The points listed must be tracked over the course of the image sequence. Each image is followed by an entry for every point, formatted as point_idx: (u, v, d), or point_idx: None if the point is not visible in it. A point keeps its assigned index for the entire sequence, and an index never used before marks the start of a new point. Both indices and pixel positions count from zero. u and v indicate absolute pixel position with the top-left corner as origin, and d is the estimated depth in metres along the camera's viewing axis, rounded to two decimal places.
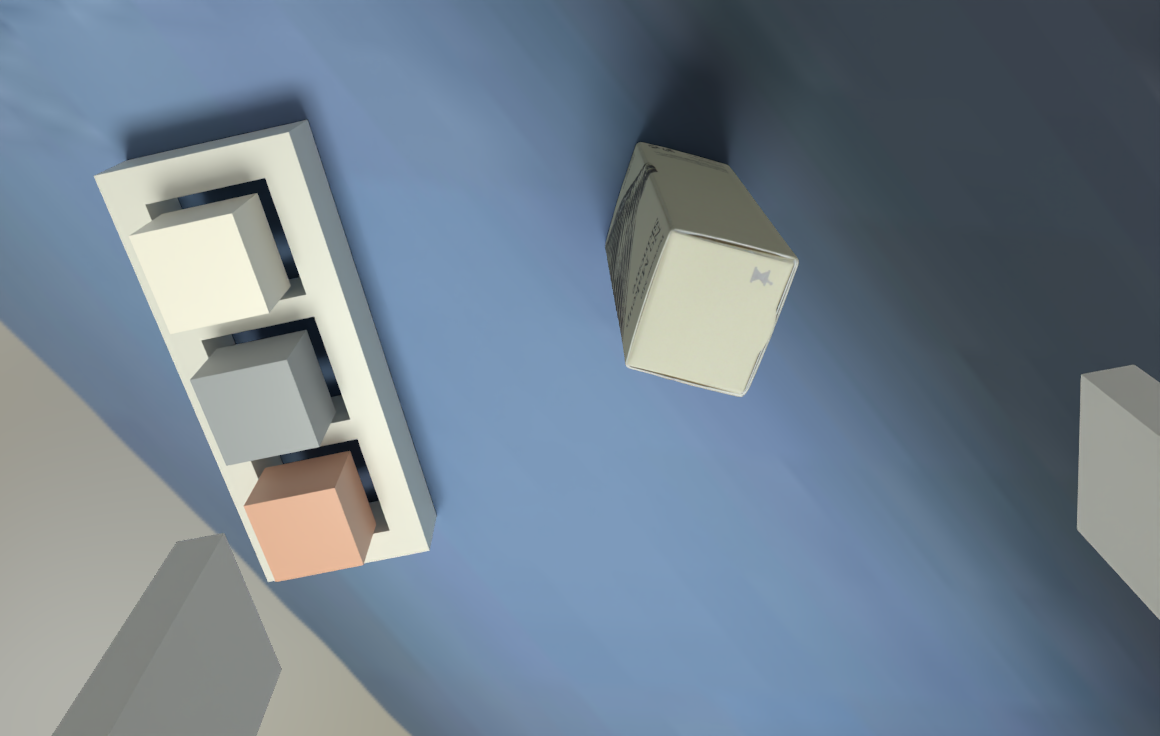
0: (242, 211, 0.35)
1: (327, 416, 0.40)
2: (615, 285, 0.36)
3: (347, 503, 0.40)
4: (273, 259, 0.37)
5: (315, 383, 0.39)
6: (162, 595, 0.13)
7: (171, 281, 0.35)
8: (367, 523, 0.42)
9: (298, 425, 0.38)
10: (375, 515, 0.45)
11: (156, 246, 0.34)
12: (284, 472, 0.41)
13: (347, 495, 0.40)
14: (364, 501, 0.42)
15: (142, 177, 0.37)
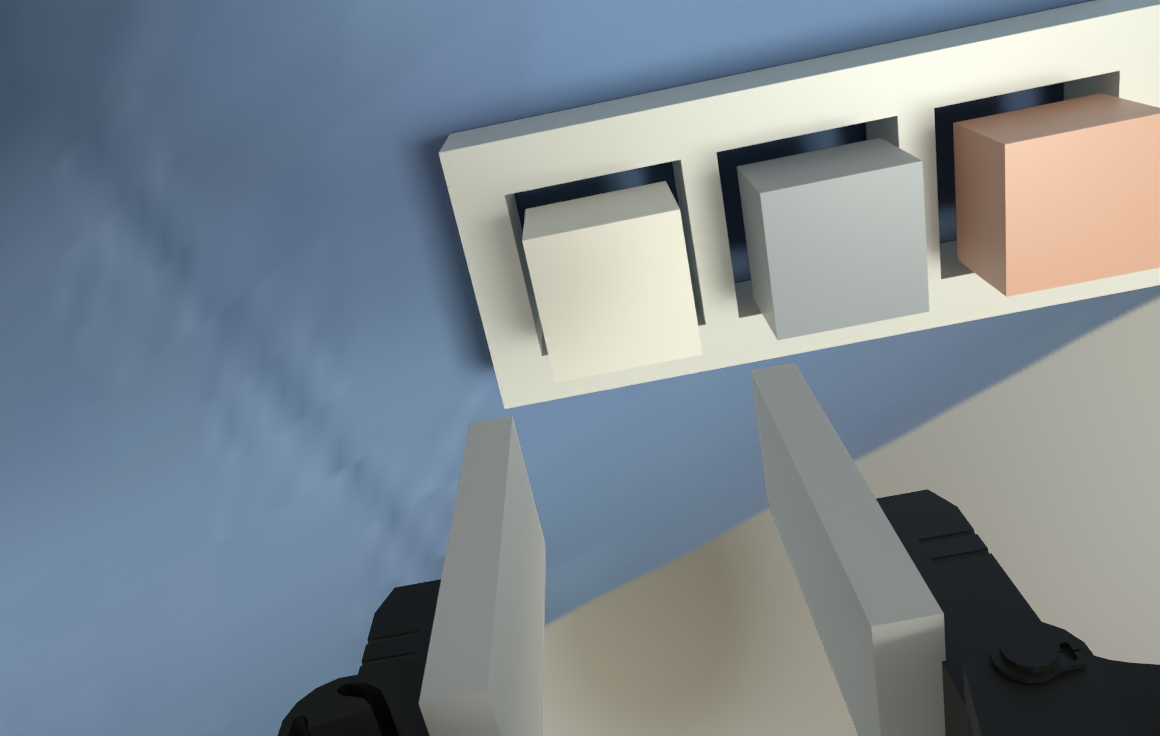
0: (531, 228, 0.24)
1: (880, 148, 0.25)
2: None
3: (1043, 128, 0.23)
4: (617, 198, 0.25)
5: (820, 159, 0.25)
6: (482, 460, 0.15)
7: (623, 340, 0.24)
8: (1093, 104, 0.24)
9: (877, 189, 0.23)
10: None
11: (570, 350, 0.24)
12: (967, 229, 0.26)
13: (1028, 128, 0.23)
14: (1052, 107, 0.25)
15: (505, 352, 0.28)
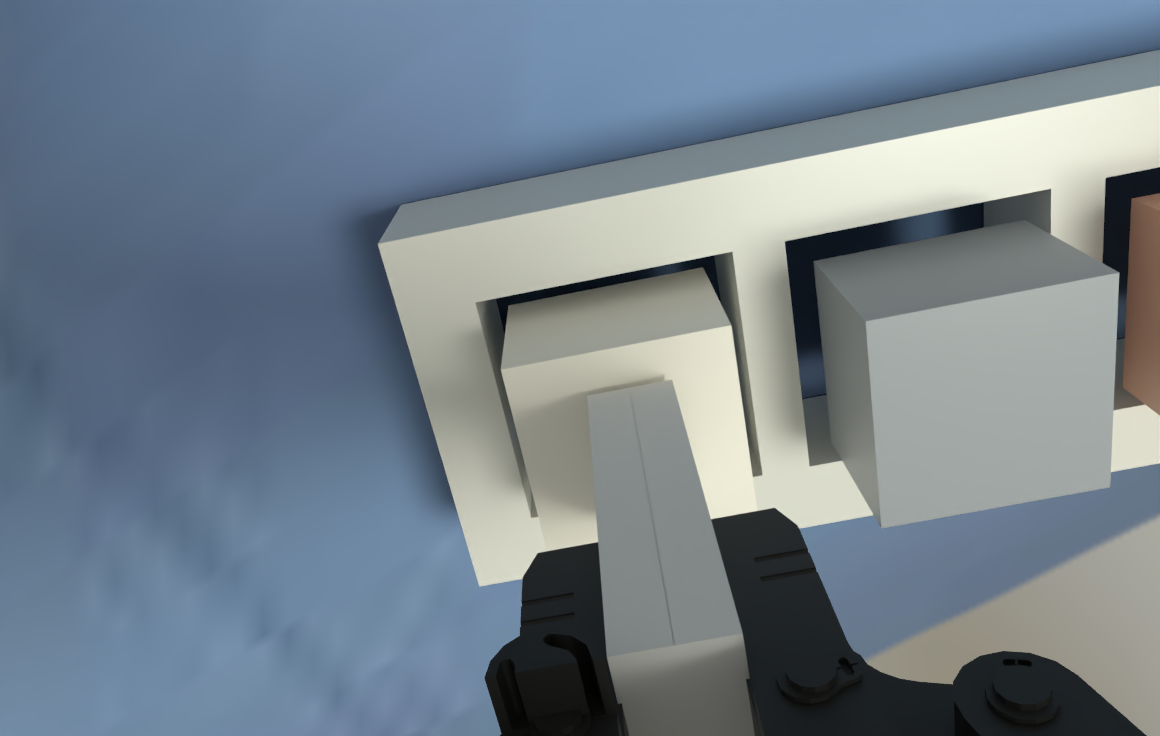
0: (514, 345, 0.17)
1: (1033, 241, 0.16)
2: None
3: None
4: (637, 295, 0.18)
5: (943, 257, 0.17)
6: (610, 429, 0.15)
7: None
8: None
9: (1046, 315, 0.15)
10: None
11: (571, 516, 0.17)
12: (1148, 352, 0.18)
13: None
14: None
15: (480, 514, 0.20)
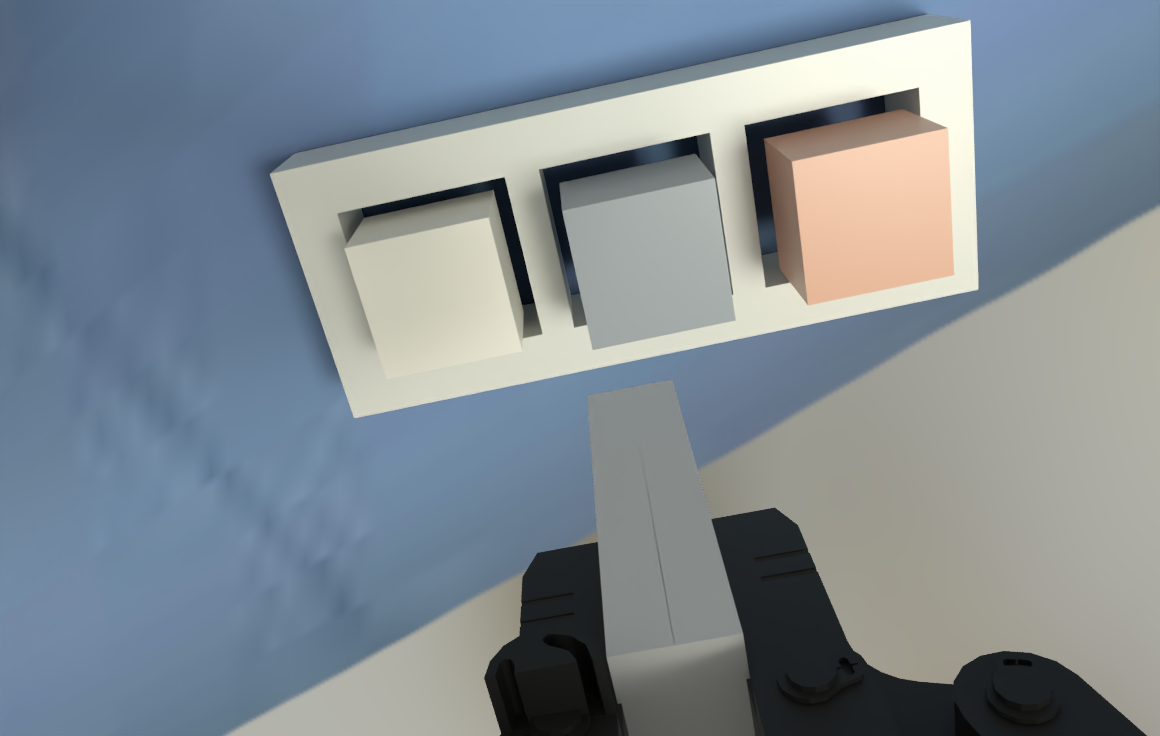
0: (357, 236, 0.26)
1: (688, 164, 0.26)
2: None
3: (833, 145, 0.24)
4: (444, 206, 0.27)
5: (632, 176, 0.26)
6: (609, 429, 0.15)
7: (446, 339, 0.26)
8: (889, 121, 0.25)
9: (674, 206, 0.24)
10: None
11: (398, 349, 0.26)
12: (782, 240, 0.27)
13: (821, 145, 0.25)
14: (853, 123, 0.26)
15: (350, 364, 0.29)
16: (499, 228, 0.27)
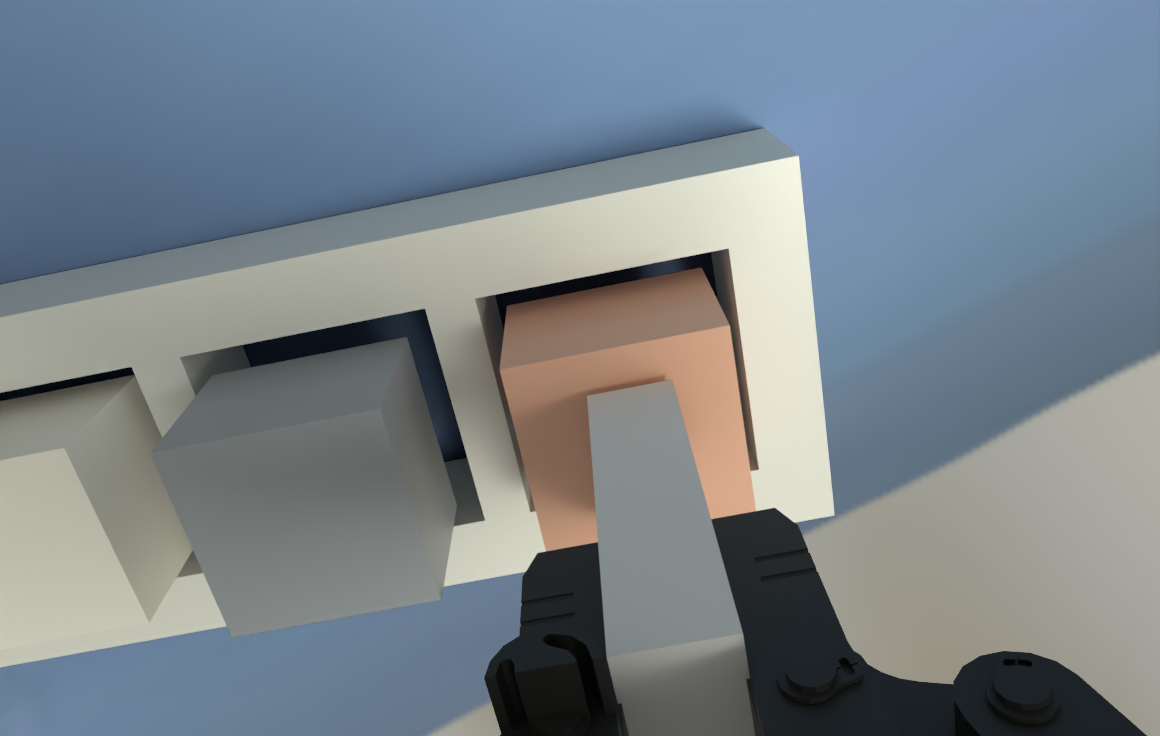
0: None
1: (378, 364, 0.17)
2: None
3: (572, 338, 0.17)
4: (51, 405, 0.19)
5: (298, 378, 0.17)
6: (610, 429, 0.15)
7: (34, 607, 0.18)
8: (671, 292, 0.18)
9: (323, 447, 0.16)
10: (721, 270, 0.20)
11: None
12: None
13: (557, 336, 0.17)
14: (627, 290, 0.18)
15: None
16: (134, 434, 0.19)
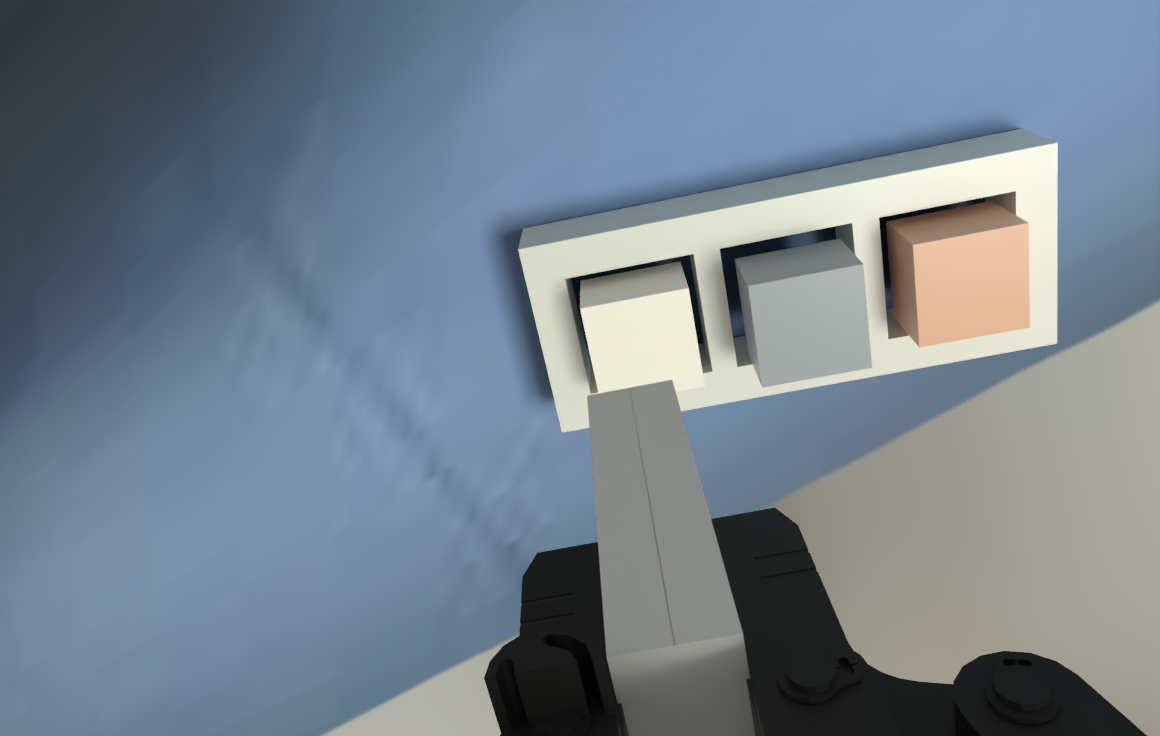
0: (585, 298, 0.35)
1: (837, 249, 0.34)
2: None
3: (942, 232, 0.33)
4: (645, 275, 0.36)
5: (794, 257, 0.34)
6: (610, 430, 0.15)
7: (648, 376, 0.35)
8: (983, 211, 0.34)
9: (831, 283, 0.32)
10: None
11: (612, 382, 0.35)
12: (897, 296, 0.36)
13: (932, 231, 0.34)
14: (955, 211, 0.35)
15: (563, 391, 0.38)
16: None
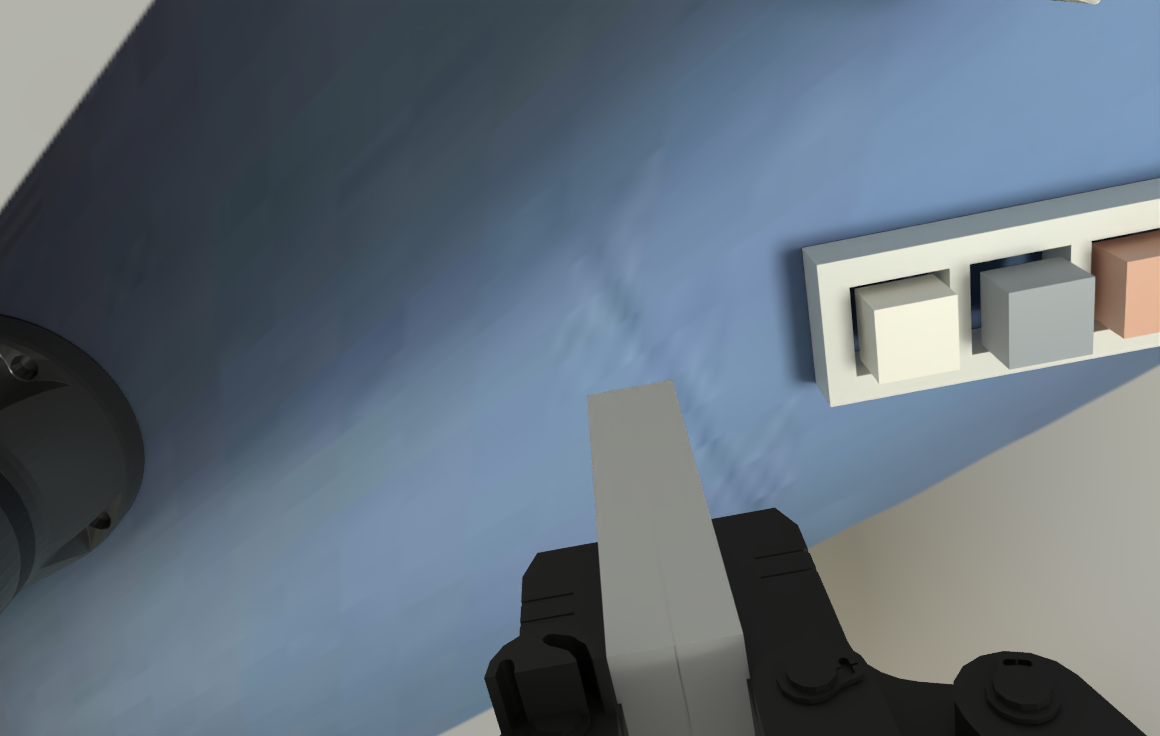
0: (871, 302, 0.45)
1: (1065, 264, 0.45)
2: None
3: (1146, 252, 0.44)
4: (910, 284, 0.47)
5: (1031, 270, 0.45)
6: (610, 430, 0.15)
7: (918, 361, 0.46)
8: None
9: (1070, 291, 0.43)
10: None
11: (890, 367, 0.46)
12: (1098, 300, 0.47)
13: (1137, 251, 0.45)
14: (1146, 236, 0.46)
15: (836, 374, 0.48)
16: None
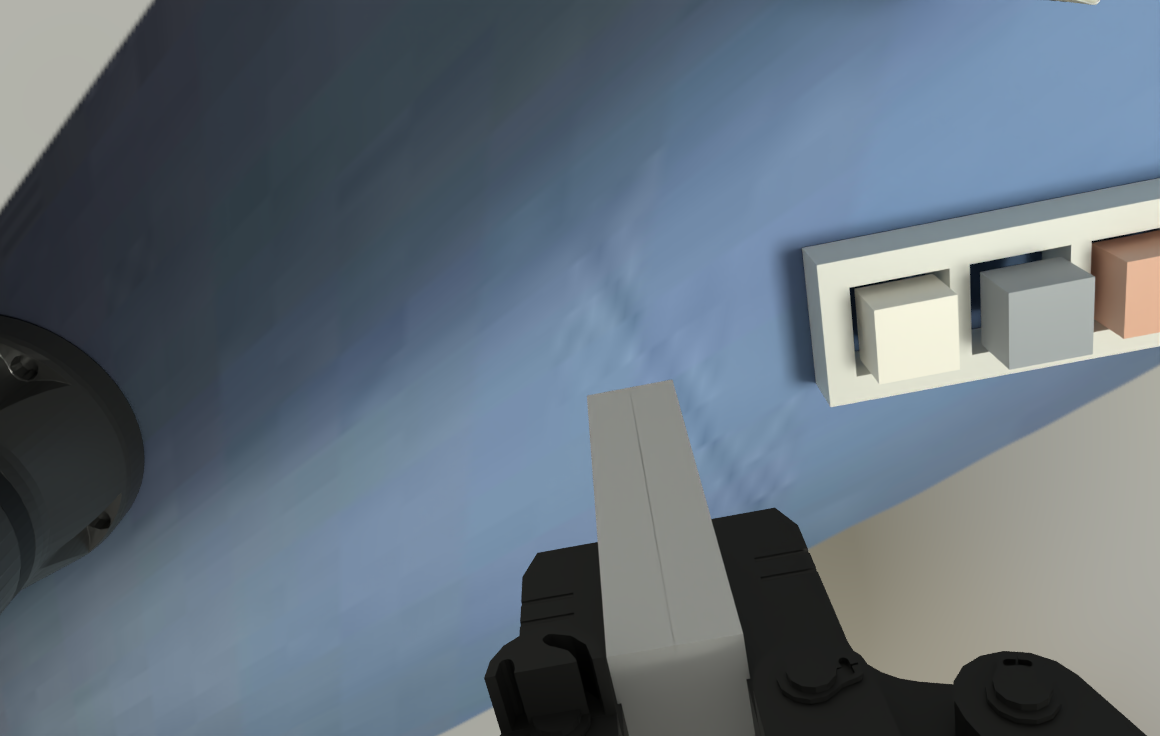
0: (871, 302, 0.45)
1: (1065, 265, 0.45)
2: None
3: (1145, 252, 0.45)
4: (910, 284, 0.47)
5: (1031, 270, 0.45)
6: (610, 429, 0.15)
7: (918, 361, 0.46)
8: None
9: (1070, 291, 0.43)
10: None
11: (890, 367, 0.46)
12: (1098, 300, 0.47)
13: (1137, 251, 0.45)
14: (1146, 236, 0.46)
15: (836, 374, 0.48)
16: None
